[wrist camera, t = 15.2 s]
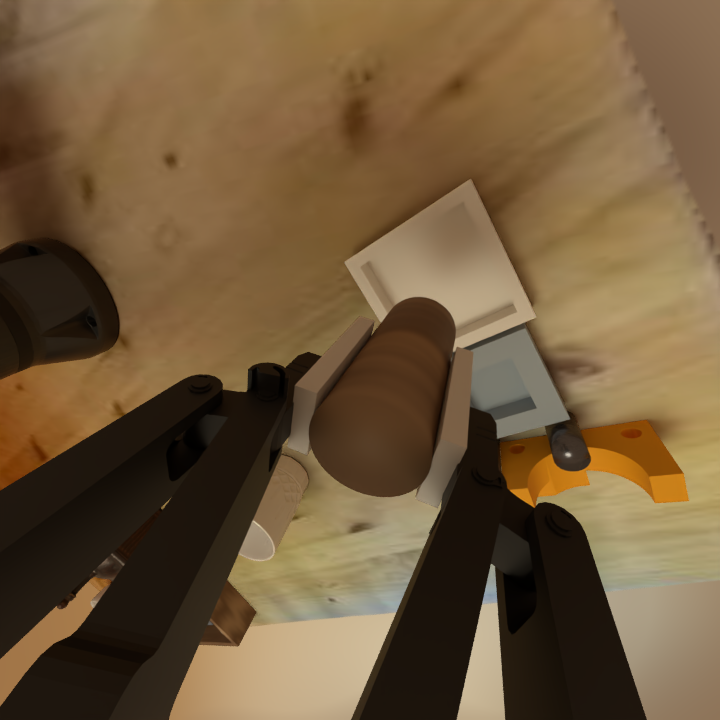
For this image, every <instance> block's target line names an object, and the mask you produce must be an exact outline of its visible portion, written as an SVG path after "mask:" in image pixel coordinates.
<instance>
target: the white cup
mask: <svg viewBox="0 0 720 720" xmlns="http://www.w3.org/2000/svg"><path fill="white" fill-rule="evenodd" d="M308 483H309V480H308V476H307V472H306V471H305V470H304V468H303V467H302V466H301V464H299V463H298V462H297V461H295V460H294V459H292V458H291V457H288V456H285V455H281V456H280V459H279V461H278V463H277V466H276V468H275V470H274V473H273V475H272V477H271V479H270V482H269V484H268V486H267V489H266V491H265V493H264V496H263V498H262V500H261V503H260V505H259V507H258V510H257V512H256V514H255V516H254V519H253V521H252V523H251V526H250V528H249V530H248V533H247V535H246V537H245V540H244V542H243V544H242V546H241V549H240V551H239V553H238V554H239V555H241V556H243V557H245V558H248V559H251V560H255V561H266V560H269V559H271V558H272V557H273V556H274V554H275V552H276V550H277V548H278V546H279V544H280V542H281V540H282V538H283V536H284V534H285V532H286V530H287V528H288V526H289V524H290V522H291V520H292V518H293V516H294V514H295V512H296V510H297V508H298V506H299V504H300V501H301V498H302V496H303V494H304V492H305V490H306V488H307V485H308Z"/></svg>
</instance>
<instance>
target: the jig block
mask: <svg viewBox="0 0 720 720" xmlns="http://www.w3.org/2000/svg"><path fill="white" fill-rule="evenodd" d="M463 349H466V350H469V351H472V352H473V366H472V381H471V395H470V407H473V408H476V409H478V410H481V411H484V412H487V413H490V414H491V415H492V417H493V419H494V420H495V422H496V424H497V439H498V438H501V437H505V436H509V435H513V434H516V433H520V432H524V431H528V430H531V429H535V428H539V427H543V426H547V425H550V424H554V423H558V422H562V421H565V420H569V419H570V417H569V415H568V412H567V409H566V407H565V404H564V402H563V400H562V397H561V395H560V393H559V391H558V389H557V387H556V385H555V383H554V381H553V379H552V377H551V375H550V373H549V371H548V369H547V367H546V365H545V363H544V361H543V359H542V357H541V354H540V352H539V350H538V348H537V346H536V344H535V342H534V340H533V338H532V336H531V334H530V332H529V330H528V328H527V326H526V324H525V322H524V323H522V324H520V325H517V326H515V327H512V328H510V329H507V330H505V331H503V332H500V333H498V334H495V335H493V336H491V337H488V338H486V339H483V340H481V341H479V342H476V343H474V344H471V345H469V346H467V347H464V348H463ZM454 353H455V351H454V352H453V353H452V358H453V355H454ZM452 358H451V360H452Z"/></svg>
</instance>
